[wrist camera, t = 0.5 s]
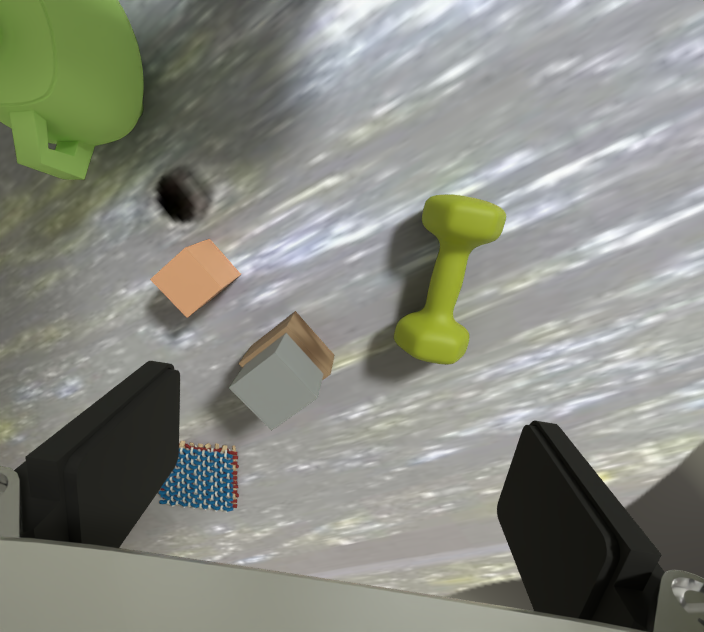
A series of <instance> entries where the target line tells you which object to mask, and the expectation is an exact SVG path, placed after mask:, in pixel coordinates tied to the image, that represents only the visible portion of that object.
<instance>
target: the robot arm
mask: <svg viewBox="0 0 704 632" xmlns="http://www.w3.org/2000/svg"><path fill="white" fill-rule="evenodd" d="M179 413H180V373H179V371H178V370H174V366H173V365H172V364H169V363H162V362H156V361H148V362H147V363H145V364H144V365H143V366H141V367H140V368H139V369H138V370H136V371H135V372H134V373H132V374H131V375H130V376H129V377H127V378H126V379H125V380H123V381H122V382H121V383H120V384H118V385H117V386H116V387H114V388H113V389H112V390H111V391H109V392H108V393H107V394H105V395H104V396H103V397H102V398H100V399H99V400H98V401H96V402H95V403H94V404H93V405H91V406H90V407H89V408H88V409H86V410H85V411H84V412H82V413H81V414H80V415H79V416H77V417H76V418H75V419H73V420H72V421H71V422H70V423H68V424H67V425H66V426H64V427H63V428H62V429H61V430H59V431H58V432H57V433H55V434H54V435H53V436H52V437H50V438H49V439H48V440H46V441H45V442H44V443H43V444H41V445H40V446H39V447H37V448H36V449H35V450H34V451H32V452H31V453H30V454H29V455H27V456H26V461H25V462H24V463H23V464H21V465H20V466H19V467H18V468H16V469H15V470H12V469H11V468H8V467H3V466H0V632H704V579H703V578H701V577H699V576H697V575H694V574H691V573H688V572H685V571H680V570H670V571H668V572H664V571H663V569H662V568H661V567H660V565H659V564H658V561H659V559H660V557H661V553H660V552H659V551H658V550H657V548H656V547H655V546H654V545H653V543H652V542H651V541H650V540H649V538H648V537H647V536H646V535H645V533H644V532H643V531H642V530H641V528H640V527H639V526H638V525H637V524H636V522H635V521H634V520H633V518H632V517H631V516H630V515H629V514H628V512H627V511H626V510H625V508H624V507H623V506H622V505H621V503H620V502H619V501H618V500H617V498H616V497H615V496H614V495H613V493H612V492H611V491H610V490H609V488H608V487H607V486H606V485H605V483H604V482H603V481H602V479H601V478H600V477H599V476H598V474H597V473H596V472H595V471H594V469H593V468H592V467H591V466H590V464H589V463H588V462H587V461H586V459H585V458H584V457H583V456H582V454H581V453H580V452H579V451H578V449H577V448H576V447H575V446H574V444H573V443H572V442H571V441H570V439H569V438H568V437H567V436H566V434H565V433H564V432H563V431H562V429H561V428H560V427H559V426H558V425H557V424H553V423H547V422H540V421H532V422H531V424H530V425H525V426H524V427H523V430H522V432H521V435H520V438H519V441H518V444H517V447H516V450H515V453H514V456H513V459H512V462H511V465H510V468H509V471H508V474H507V477H506V480H505V483H504V486H503V489H502V492H501V495H500V498H499V501H498V505H497V515H498V519H499V522H500V524H501V527H502V530H503V532H504V535H505V537H506V540H507V542H508V545H509V547H510V550H511V553H512V555H513V558H514V560H515V563H516V565H517V568H518V571H519V573H520V576H521V578H522V581H523V583H524V586H525V588H526V591H527V594H528V596H529V599H530V601H531V604H532V606H533V609H534V611H529V610H523V609H516V608H511V607H504V606H498V605H492V604H486V603H479V602H473V601H467V600H460V599H454V598H448V597H442V596H435V595H429V594H423V593H416V592H410V591H403V590H397V589H390V588H384V587H377V586H371V585H364V584H358V583H351V582H345V581H338V580H332V579H325V578H318V577H312V576H305V575H299V574H292V573H286V572H279V571H272V570H265V569H259V568H252V567H245V566H238V565H231V564H224V563H218V562H211V561H204V560H197V559H190V558H183V557H177V556H170V555H163V554H156V553H149V552H142V551H135V550H128V549H121V548H119V547H120V546H121V544H122V543H123V541H124V540H125V538H126V537H127V536H128V534H129V533H130V531H131V530H132V528H133V527H134V525H135V524H136V523H137V521H138V520H139V518H140V517H141V515H142V514H143V513H144V511H145V510H146V508H147V507H148V505H149V504H150V503H151V501H152V500H153V498H154V497H155V495H156V494H157V493H158V491H159V490H160V488H161V487H162V485H163V484H164V482H165V481H166V480H167V478H168V477H169V475H170V474H171V472H172V471H173V470H174V468H175V466H176V464H177V461H178V457H179Z"/></svg>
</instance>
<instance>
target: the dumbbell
mask: <svg viewBox="0 0 704 632" xmlns="http://www.w3.org/2000/svg"><path fill="white" fill-rule="evenodd" d="M505 221H506V214H505V212H504V210H503V209H501V208H500V207H499V206H497V205H494V204H492V203H489V202H487V201H483V200H480V199H475V198H471V197H466V196H460V195H436V196H432V197H430V198H429V199H428V200H427V201H426V202H425V205H424V209H423V214H422V222H423V225H424V226H425V228H426V229H427V230H428V231H430V232H431V233H432V234H434V235H435V236H436V237H437V238H438V240H439V243H440V249H439V253H438V256H437V259H436V262H435V266H434V269H433V273H432V276H431V281H430V285H429V290H428V294H427V300H426V304H425V307H424V308H423V309H422V310H421V311H419V312H414V313H411V314H408V315H406V316H405V317H403V318H402V319H400V320H399V322H398V323H397V326H396V329H395V333H394V340H395V342H396V343H397V345H398V346H400V347H401V348H402V349H403V350H404V351H406V352H407V353H408V354H410V355H411V356H413V357H414V358H416V359H419V360H422V361H426V362H431V363H437V364H445V365H446V364H453V363H455V362H457V361H458V360H459V359H460V358H461V357H462V356H463V355H464V354H465V352H466V349H467V346H468V343H469V333H468V331H467V330H466V329H465V328H464V327H463V326H462V325H460V324H459V323H457V322H455V320H454V318H453V310H454V306H455V304H456V301H457V298H458V295H459V292H460V290H461V287H462V283H463V279H464V274H465V270H466V265H467V260H468V256H469V254H470V253H471V251H472V250H473V249H474V248H476V247H478V246H480V245H483V244H487V243H490V242H493V241H495V240H496V239H498V238H499V236H500V235H501V233H502V230H503V227H504V224H505Z"/></svg>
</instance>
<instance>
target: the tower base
mask: <svg viewBox="0 0 704 632" xmlns="http://www.w3.org/2000/svg"><path fill="white" fill-rule="evenodd" d="M285 333H287V334H288V335H289V336H290V337H291V339H292V340H293V341H294V342H295V343H296V344H297V345H298V346H299V347H300V348H301V350H302V351H303V352H304V353H305V354H306V355H307V356H308V357H309V358H310V359H311V361H312V362H313V363H314V364H315V365H316V366H317V367H318V368H319V369H320V370H321V372H322V373H323V378H322V380H323V379H325V378H326V377H328V376H329V375H330V374H331V370H332V365H333V360H334V354H333V353H332V352H331V351H330V350H329V349H328V347H327V346H326V345H325V344H324V343H323V342H322V341H321V339H320V338H319V337H318V336H317V335H316V334H315V333H314V332H313V330H312V329H311V328H310V327H309V326H308V325H307V324H306V322H305V321H304V320H303V319H302V318H301V317H300V316H299V315H298V313H297V312H296V311H295V312H294V313H292V314H291V315H290V316H289V317H287V318H286V319H285V320H283V321H282V322H281V323H280V324H278V325H277V326H276V327H275V328H273V329H272V330H271V331H269V332H268V333H267V334H266V335H264V336H263V337H262V338H261V339H259V340H258V341H257V342H256V343H254V344H253V345H252V346H251V347H250V348H249V350H248V351H247V353H246V354H245V355H244V357H243V358H242V360H241V361H240V362H239V365H240V366H241V367H242V368H243V367H244V365H245V364H246V363H248V362H249V361H250V360H251V359H253V358H254V357H255V356H257V355H258V354H259V353H260V352H262V351H263V350H264V349H266V348H267V347H268V346H269V345H271V344H272V343H273V342H275V341H276V340H277V339H278V338H280V337H281V336H282V335H284V334H285Z"/></svg>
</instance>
